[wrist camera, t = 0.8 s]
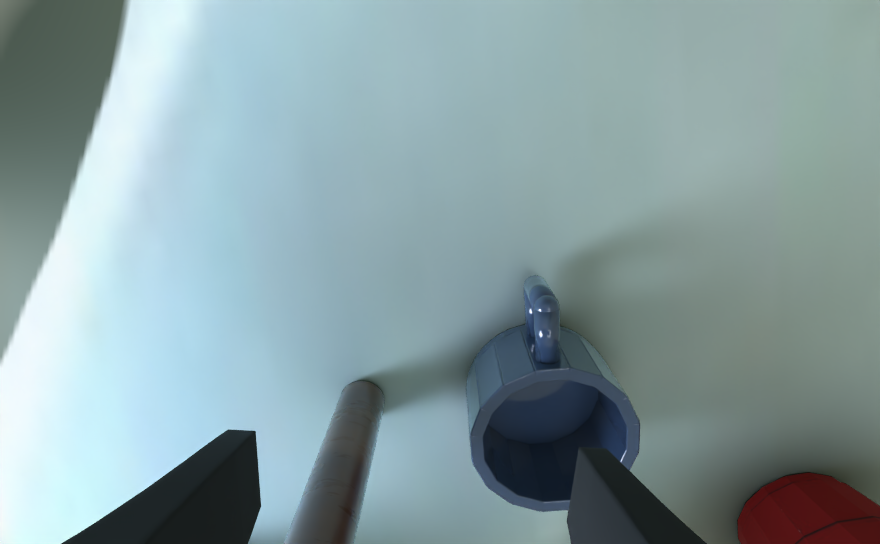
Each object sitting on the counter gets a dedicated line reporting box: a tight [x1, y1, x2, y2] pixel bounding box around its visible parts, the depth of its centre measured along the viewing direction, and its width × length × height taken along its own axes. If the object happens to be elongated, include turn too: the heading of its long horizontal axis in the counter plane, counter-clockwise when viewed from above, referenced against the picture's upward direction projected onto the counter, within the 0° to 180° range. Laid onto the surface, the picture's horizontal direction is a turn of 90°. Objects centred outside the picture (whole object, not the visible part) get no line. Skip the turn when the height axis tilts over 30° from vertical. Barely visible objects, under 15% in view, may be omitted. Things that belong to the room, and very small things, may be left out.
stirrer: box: [284, 381, 385, 544], centre depth 17 cm, size 2×2×10 cm
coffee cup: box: [466, 275, 640, 512], centre depth 19 cm, size 9×6×4 cm
